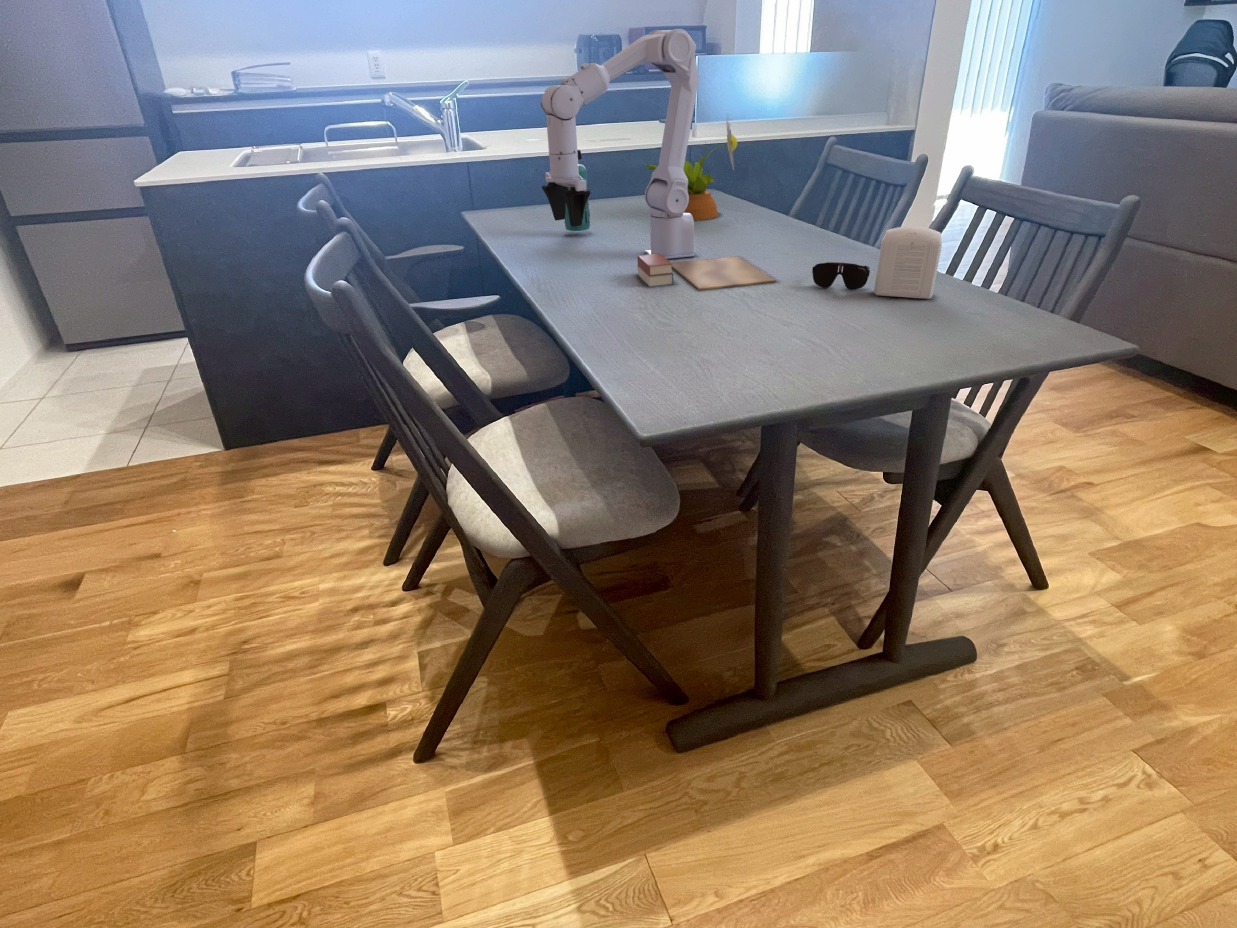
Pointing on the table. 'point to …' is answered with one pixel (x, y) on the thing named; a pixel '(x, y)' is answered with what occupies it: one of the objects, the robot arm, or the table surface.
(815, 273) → the sunglasses
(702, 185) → the decorative plant
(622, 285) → the table surface
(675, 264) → the cork mat
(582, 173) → the beverage bottle
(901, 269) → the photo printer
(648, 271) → the book stack
